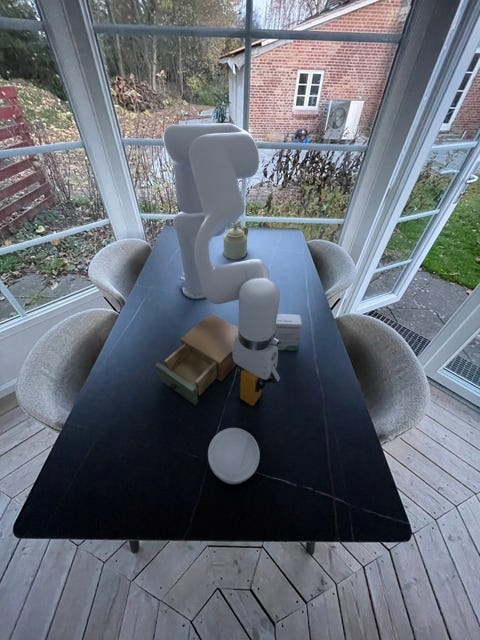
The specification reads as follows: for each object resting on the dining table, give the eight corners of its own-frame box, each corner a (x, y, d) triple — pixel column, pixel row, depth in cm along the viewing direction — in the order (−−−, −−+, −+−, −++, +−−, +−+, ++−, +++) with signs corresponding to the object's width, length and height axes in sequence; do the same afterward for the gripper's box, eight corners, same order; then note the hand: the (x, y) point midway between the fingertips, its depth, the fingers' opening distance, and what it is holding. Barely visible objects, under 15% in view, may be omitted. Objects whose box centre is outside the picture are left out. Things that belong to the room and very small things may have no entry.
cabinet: (221, 381, 76) (220, 363, 70) (183, 357, 82) (179, 338, 76) (247, 351, 84) (248, 332, 78) (212, 332, 90) (210, 313, 84)
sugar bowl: (226, 243, 136) (225, 214, 126) (247, 245, 135) (249, 216, 125) (222, 258, 125) (221, 228, 115) (245, 260, 125) (246, 229, 114)
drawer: (192, 408, 69) (189, 394, 64) (156, 382, 75) (151, 367, 70) (224, 373, 77) (223, 358, 73) (190, 351, 83) (187, 336, 78)
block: (239, 398, 72) (240, 372, 64) (248, 387, 75) (250, 360, 66) (252, 406, 70) (255, 380, 62) (261, 395, 73) (264, 369, 65)
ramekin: (265, 480, 58) (267, 472, 55) (215, 496, 56) (214, 489, 52) (249, 431, 66) (250, 421, 62) (205, 444, 63) (203, 434, 60)
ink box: (294, 339, 89) (301, 313, 80) (296, 351, 85) (303, 325, 77) (269, 338, 89) (272, 312, 81) (269, 350, 85) (273, 323, 77)
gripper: (300, 341, 54) (287, 389, 67) (234, 309, 61) (234, 358, 74) (282, 365, 50) (272, 412, 62) (213, 327, 57) (217, 376, 69)
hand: (251, 382), depth 68 cm, fingers closed on block, 4 cm apart
